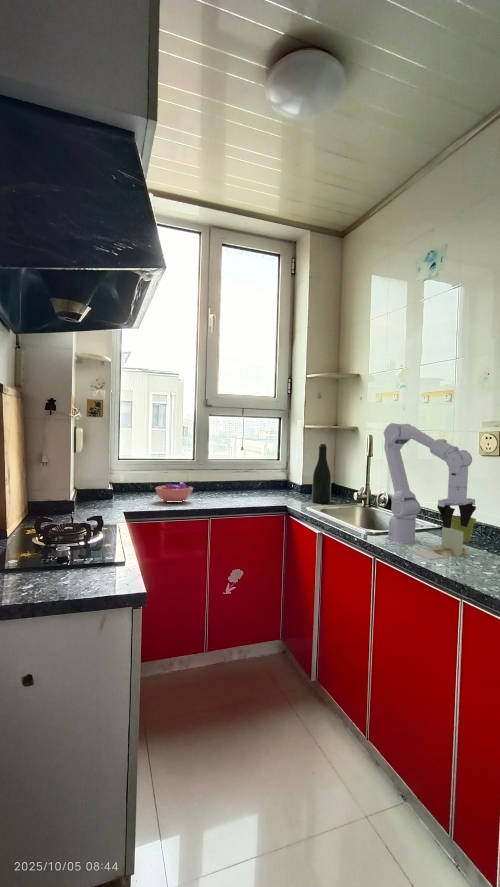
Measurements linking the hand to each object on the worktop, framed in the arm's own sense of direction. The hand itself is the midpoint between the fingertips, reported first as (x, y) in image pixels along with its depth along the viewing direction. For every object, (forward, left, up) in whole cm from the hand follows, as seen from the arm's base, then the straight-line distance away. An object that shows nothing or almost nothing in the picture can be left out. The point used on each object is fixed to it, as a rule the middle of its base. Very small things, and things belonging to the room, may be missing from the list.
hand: (455, 526), depth 142 cm
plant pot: (-13, +18, -10) cm, 24 cm away
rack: (-2, +1, -9) cm, 10 cm away
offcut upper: (-2, -3, -9) cm, 10 cm away
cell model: (-120, -69, -10) cm, 139 cm away
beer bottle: (-100, +10, -10) cm, 101 cm away
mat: (-2, -10, -9) cm, 14 cm away
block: (-2, +1, -10) cm, 10 cm away
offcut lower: (-2, -3, -10) cm, 11 cm away
